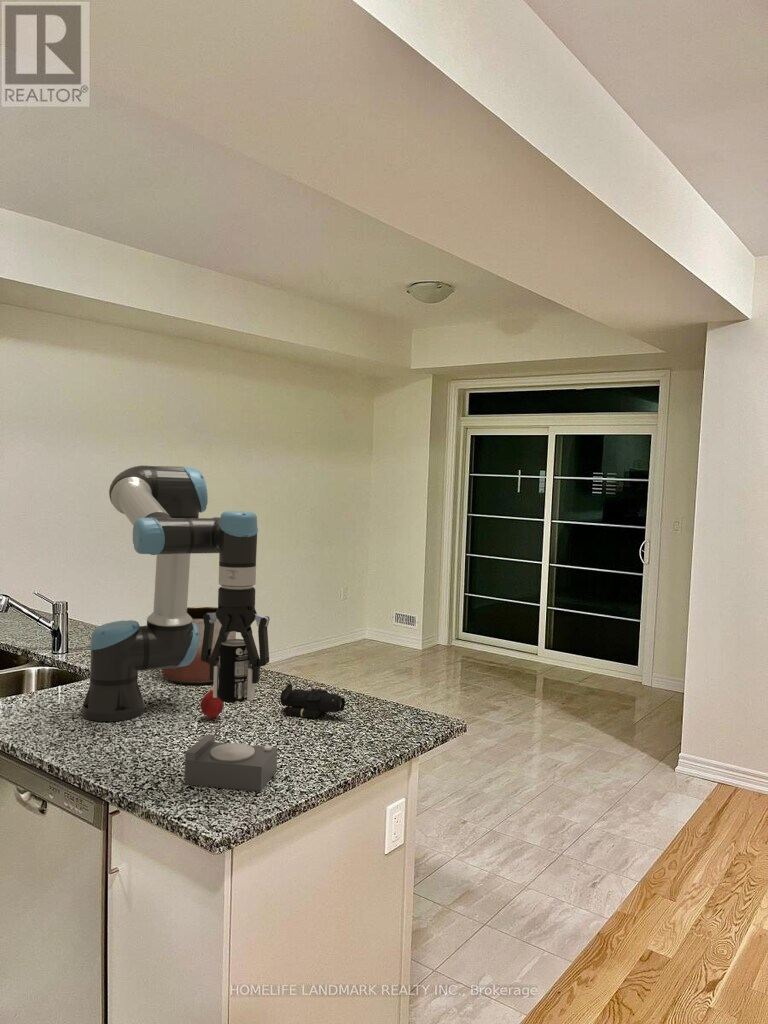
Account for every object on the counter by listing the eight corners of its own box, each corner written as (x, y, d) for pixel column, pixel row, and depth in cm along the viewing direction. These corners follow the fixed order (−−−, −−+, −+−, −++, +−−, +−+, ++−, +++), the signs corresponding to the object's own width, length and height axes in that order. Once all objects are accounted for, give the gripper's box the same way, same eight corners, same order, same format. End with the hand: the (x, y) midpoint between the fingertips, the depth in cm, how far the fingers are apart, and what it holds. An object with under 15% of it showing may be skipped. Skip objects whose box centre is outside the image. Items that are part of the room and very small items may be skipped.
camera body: (184, 784, 152) (185, 752, 152) (205, 764, 163) (206, 734, 163) (260, 791, 150) (261, 759, 150) (276, 770, 161) (277, 740, 160)
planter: (249, 675, 237) (251, 612, 237) (197, 690, 219) (199, 622, 218) (200, 664, 249) (201, 604, 248) (146, 677, 231) (148, 612, 230)
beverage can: (219, 694, 159) (221, 638, 158) (251, 694, 159) (253, 638, 159) (215, 703, 152) (217, 644, 152) (248, 704, 153) (250, 645, 152)
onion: (227, 717, 195) (228, 686, 195) (215, 723, 190) (216, 692, 190) (208, 714, 197) (208, 684, 197) (195, 720, 192) (196, 689, 192)
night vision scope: (342, 728, 197) (331, 712, 190) (282, 720, 203) (268, 704, 196) (350, 700, 202) (339, 683, 194) (290, 693, 208) (278, 676, 201)
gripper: (184, 586, 153) (181, 698, 153) (277, 591, 150) (274, 706, 151) (199, 581, 160) (196, 688, 161) (288, 586, 157) (284, 695, 158)
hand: (234, 696), depth 156 cm, fingers closed on beverage can, 7 cm apart
